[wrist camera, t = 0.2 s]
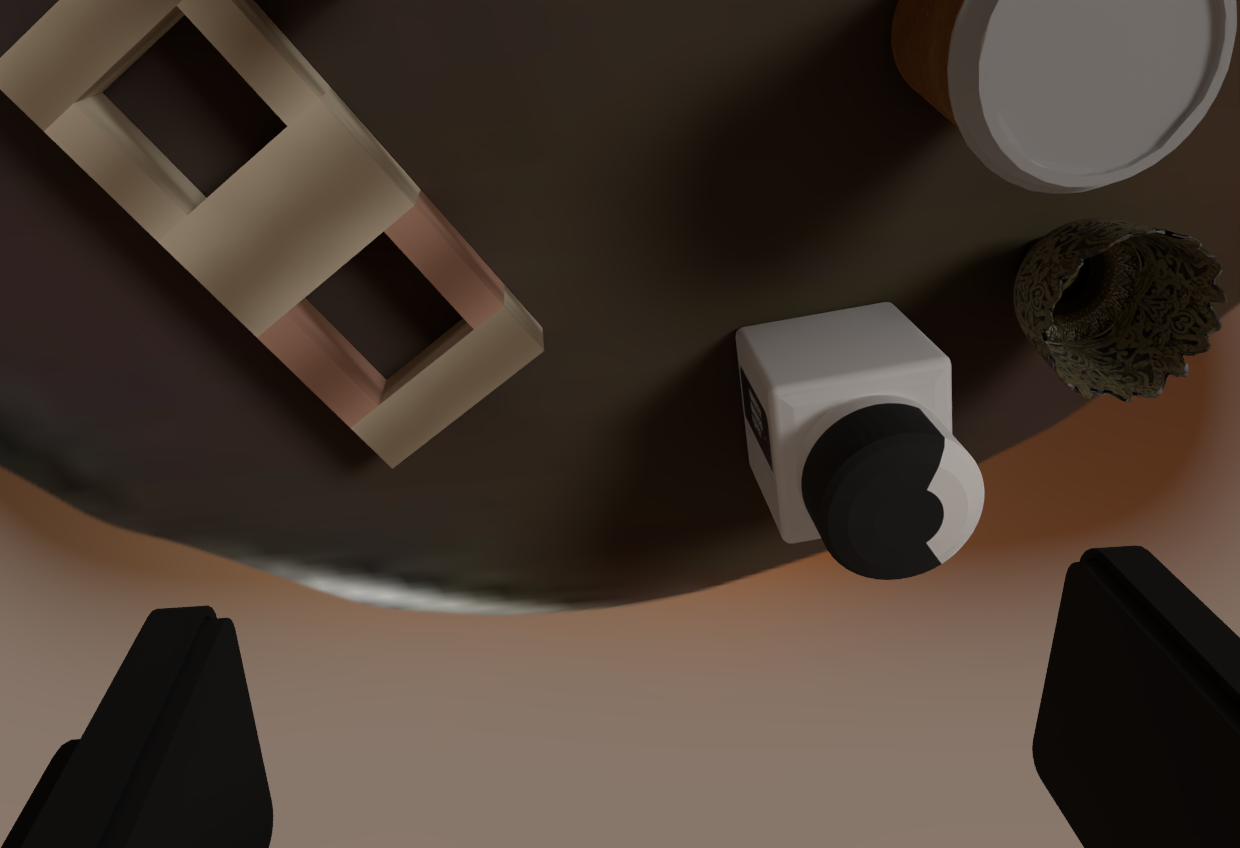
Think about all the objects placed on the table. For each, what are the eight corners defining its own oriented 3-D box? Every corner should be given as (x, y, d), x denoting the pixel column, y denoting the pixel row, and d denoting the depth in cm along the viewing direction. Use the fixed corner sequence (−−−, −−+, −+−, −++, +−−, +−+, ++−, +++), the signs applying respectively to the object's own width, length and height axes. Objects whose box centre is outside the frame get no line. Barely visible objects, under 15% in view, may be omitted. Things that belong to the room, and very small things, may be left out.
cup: (949, 325, 50) (1023, 390, 43) (1003, 175, 47) (1092, 217, 40) (1087, 349, 51) (1182, 416, 44) (1148, 205, 48) (1260, 250, 41)
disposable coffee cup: (900, -127, 41) (1036, -151, 30) (1107, -61, 43) (1306, -61, 32) (822, 111, 45) (919, 165, 34) (1016, 163, 47) (1167, 229, 36)
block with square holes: (18, 65, 41) (-16, 73, 39) (176, -88, 39) (151, -90, 37) (399, 439, 50) (392, 468, 47) (542, 327, 48) (544, 350, 45)
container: (748, 467, 52) (816, 619, 40) (732, 326, 49) (801, 447, 37) (897, 440, 52) (1007, 584, 41) (892, 298, 49) (1010, 410, 37)
